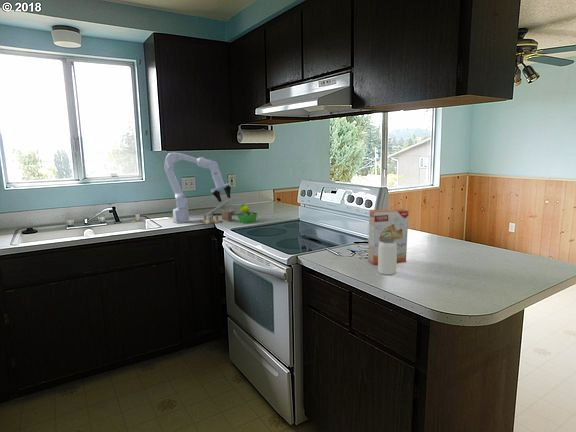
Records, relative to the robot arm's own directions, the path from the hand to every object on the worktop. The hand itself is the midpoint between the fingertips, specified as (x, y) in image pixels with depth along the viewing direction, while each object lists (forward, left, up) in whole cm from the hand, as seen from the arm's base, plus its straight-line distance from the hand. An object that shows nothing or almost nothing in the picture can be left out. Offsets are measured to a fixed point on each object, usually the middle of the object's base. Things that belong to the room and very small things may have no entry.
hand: (224, 199), depth 245 cm
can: (+4, -134, -13) cm, 135 cm away
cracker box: (+14, -125, -13) cm, 127 cm away
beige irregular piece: (-10, 0, -13) cm, 17 cm away
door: (0, -2, -13) cm, 13 cm away
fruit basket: (+8, -15, -13) cm, 22 cm away
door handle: (+8, +24, -14) cm, 28 cm away
